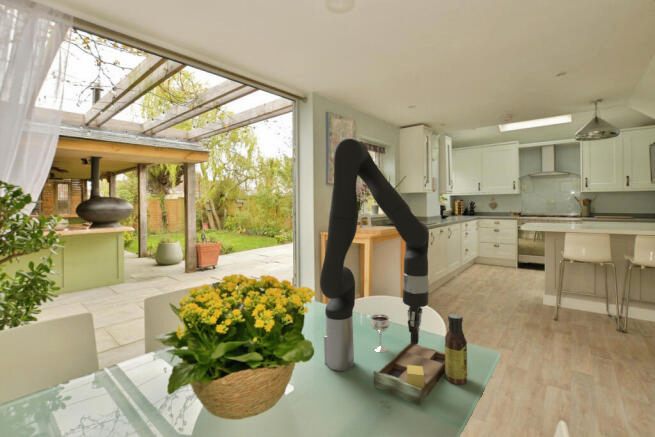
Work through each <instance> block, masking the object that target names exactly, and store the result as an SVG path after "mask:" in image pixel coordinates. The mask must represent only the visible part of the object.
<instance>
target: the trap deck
mask: <svg viewBox="0 0 655 437" xmlns="http://www.w3.org/2000/svg"><path fill="white" fill-rule="evenodd" d="M407 365H413V366H423V372H424V388H423V389H422V390H421V389H420V388H418V387H415V386H412V385H410V384H407ZM372 374H373V377H372V378H373V387H375V388H378V389H380V390H382V391H385V392H387V393H389V394H391V395H394V396H396V397H399V398H401V399H403V400H405V401H408V402H410V403H412V404H415V405H417V406H422V405H423V403H424V401H426V398H427V397H428V395H429V394H431V392H432V390H433V389H434V388H435V386H436V385H437V383H438V382H439V381H440V379H441V378H442V377H443V375H444V374H445V352H443V351H439V350H435V349H432V348H429V347H426V346H422V345H418V344H412V343H411V342H410V343H408V344H407V345H406V346H405V347H404V348H403V349H402V350H401V351H400V352H398V353H397V355H394V357H393V358H392V359H391V360H390V361H389V362H387V364H385V365H384V366H383V367H382V368H381V369H380V370H379V371H376V370H374V371H373V373H372Z"/></svg>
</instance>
